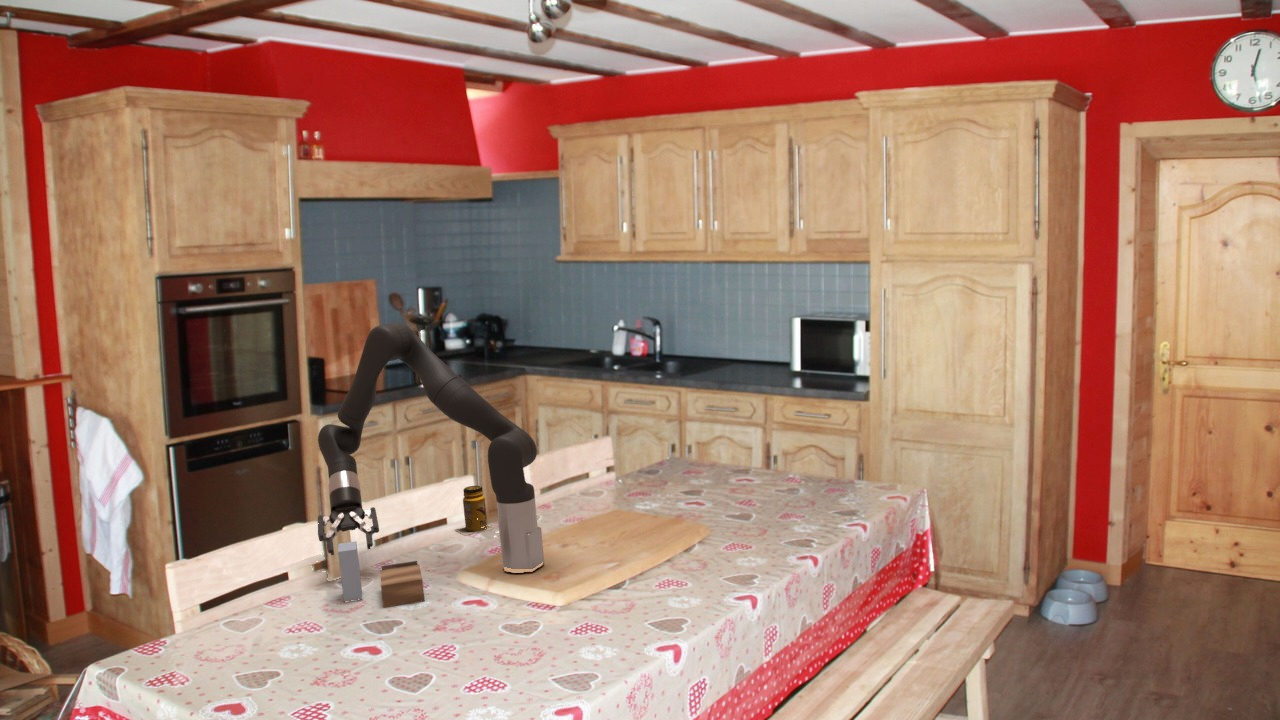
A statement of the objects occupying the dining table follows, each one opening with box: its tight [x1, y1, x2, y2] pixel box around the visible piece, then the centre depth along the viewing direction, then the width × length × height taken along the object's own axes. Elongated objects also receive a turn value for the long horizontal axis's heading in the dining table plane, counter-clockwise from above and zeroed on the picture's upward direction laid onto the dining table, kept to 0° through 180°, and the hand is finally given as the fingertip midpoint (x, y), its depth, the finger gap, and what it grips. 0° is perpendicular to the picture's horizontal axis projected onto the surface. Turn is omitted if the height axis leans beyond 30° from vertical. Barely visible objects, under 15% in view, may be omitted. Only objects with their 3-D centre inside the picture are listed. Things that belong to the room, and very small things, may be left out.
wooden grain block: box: [379, 560, 425, 608], centre depth 242 cm, size 20×9×6 cm, turn 15°
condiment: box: [454, 485, 494, 536], centre depth 290 cm, size 7×8×12 cm
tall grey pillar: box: [337, 540, 363, 602], centre depth 240 cm, size 7×4×12 cm, turn 15°
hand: (350, 550), depth 250 cm, fingers open, 8 cm apart
